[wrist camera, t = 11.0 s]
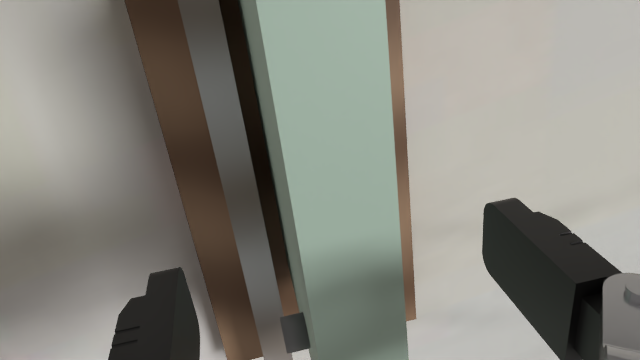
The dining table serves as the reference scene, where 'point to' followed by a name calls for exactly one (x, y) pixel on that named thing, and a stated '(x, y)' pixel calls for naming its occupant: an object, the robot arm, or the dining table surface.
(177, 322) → the robot arm
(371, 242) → the door panel
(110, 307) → the dining table surface
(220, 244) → the door track
